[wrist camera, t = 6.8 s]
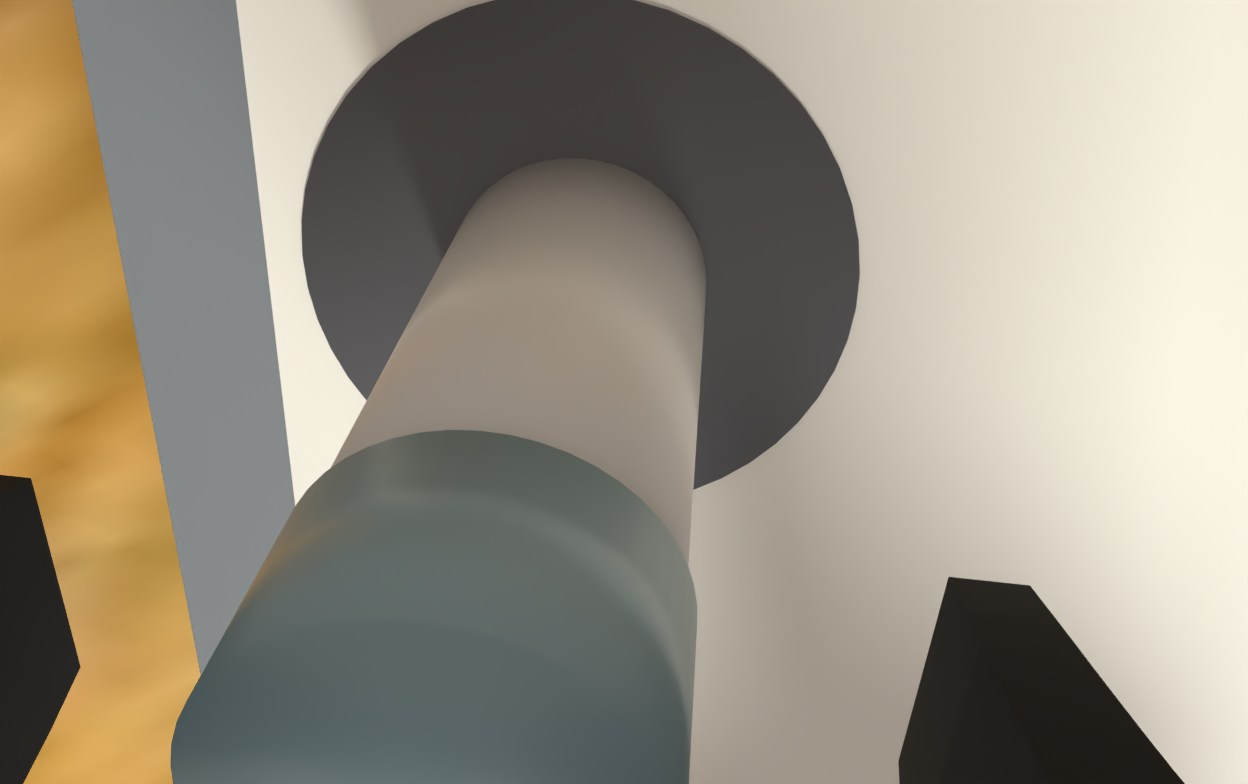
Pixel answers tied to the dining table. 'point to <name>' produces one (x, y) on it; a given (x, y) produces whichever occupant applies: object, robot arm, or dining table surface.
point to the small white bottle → (493, 524)
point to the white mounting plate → (751, 310)
